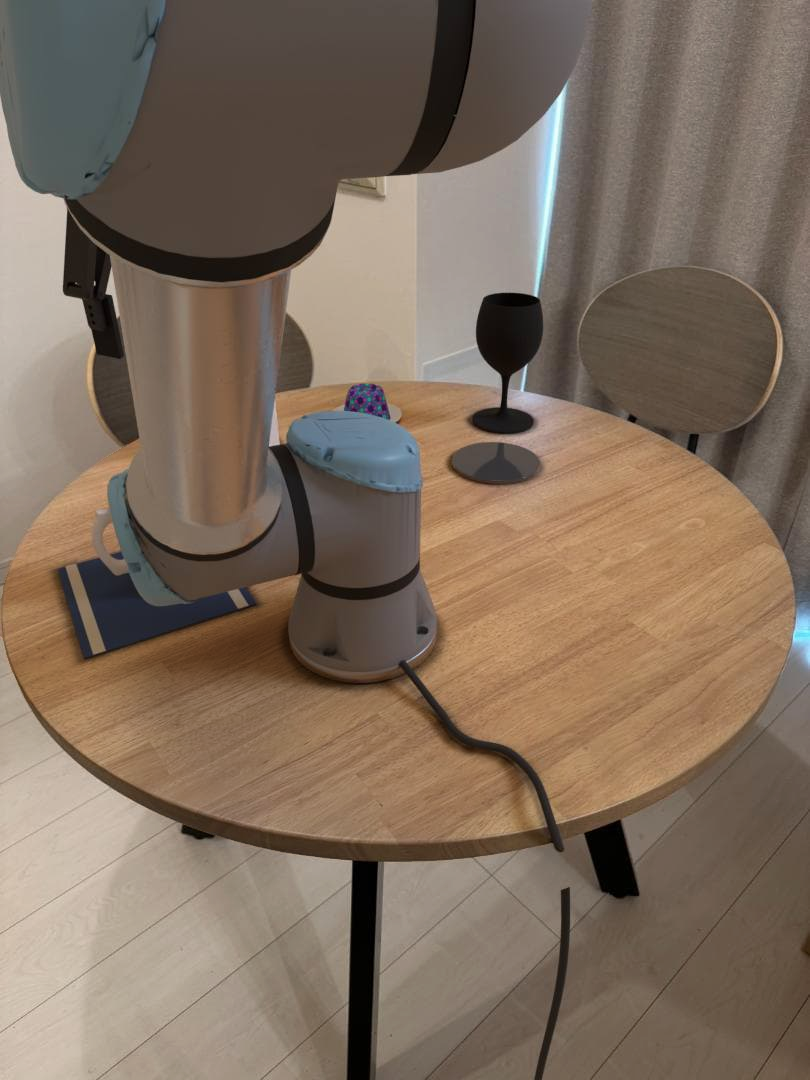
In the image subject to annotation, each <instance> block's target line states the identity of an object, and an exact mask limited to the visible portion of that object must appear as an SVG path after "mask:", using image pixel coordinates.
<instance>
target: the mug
mask: <svg viewBox="0 0 810 1080" xmlns="http://www.w3.org/2000/svg"><path fill="white" fill-rule="evenodd" d="M94 512H95V516H94V521H93V525H92V528H91V543H92V548H93V550H94V552H95V554H96V555H97V558H100V559H101V560H102V561H103V563H104V564H105V565H106V566H107V567H108V568H109V569H110V570H111V571H112V572H113V574H115V575H117V576H118V575H122V574H125V573H129V569H128V566H127V564H126V562H125V559H122V560H117V559H115V558H113V557H112V556H110V555H111V554H109V552H108V551H107V549H106V546H105V545H104V540H103V538H104V537H103V536H104V531H105V529H106V527H107V526H109V524H112V523H113V522H112V517H111V513H110V508H105V507H104V508H101V509H95V511H94Z"/></svg>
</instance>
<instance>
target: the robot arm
mask: <svg viewBox="0 0 810 1080" xmlns="http://www.w3.org/2000/svg"><path fill="white" fill-rule="evenodd" d="M592 5H593V0H0V102H1V103H0V104H1V108H2V112H3V117H4V120H5V125H6V130H7V137H8V141H9V146H10V148H11V154H12V157H13V161H14V165H15V168H16V171H17V173H18V176H19V178H20V180H21V181H22V182H23V184H24V185H25V186H26V187H27V188H29V189H30V190H32V191H33V192H35V193H37V194H40V195H49V194H50V195H52V196H54V197H55V198H59V199H60V198H61V199H63V202H64V205H65V207H66V222H65V225H66V226H65V239H64V240H65V242H64V260H63V261H64V262H63V276H62V293H63V295H64V296H65V297H70V298H75V299H81V301H82V306H83V309H84V313H85V318H86V322H87V325H88V327H89V329H90V330H91V334H92V339H93V344H94V347H95V353H96V355H98V356H103V357H108V358H111V359H112V358H113V359H117V360H122V358H124V357H126V365H127V371H128V376H129V377H128V378H129V383H130V389H131V394H132V401H133V407H134V413H135V419H136V426H137V431H138V438H139V444H140V447H139V448H138V450H137V451H136V452H135V454H134V456H133V457H132V459H131V461H130V464H129V466H128V468H127V469H125V470H124V471H122V472H120V473H116V474H114V475H112V476H111V477H110V478H109V481H108V484H107V486H106V487H107V490H106V492H107V493H106V495H107V503H108V507H109V508H108V509H109V510H110V513H111V517H112V522H111V523H112V525H113V529H114V533H115V536H116V540H117V542H118V543H117V544H118V546H119V549H120V552H122V555H123V557H124V559H125V562H126V564H127V566H128V569H129V574H130V576H131V579H132V581H133V583H134V585H135V587H136V589H137V591H138V593H139V594H140V595H141V597H142V598H143V599H144V600H145V601H146V602H147V603H149V604H151V605H154V606H168V605H174V604H181V603H182V604H189V603H193V602H195V601H196V600H197V599H199V598H203V597H207V596H211V595H215V594H220V593H224V592H228V591H232V590H236V589H240V588H244V587H246V588H247V587H253V586H256V585H261V584H264V583H269V582H273V581H276V580H280V579H281V580H282V579H285V578H289V577H292V576H298V575H300V579H299V581H298V586H297V589H296V592H295V595H294V599H293V602H292V606H291V609H290V612H289V616H288V627H287V630H288V637H289V639H288V640H289V645H290V649H291V652H292V654H293V655H294V657H295V658H296V660H297V661H298V662H299V663H300V664H301V665H302V666H303V667H305V668H306V669H307V670H309V671H311V672H313V673H314V674H316V675H318V676H321V677H323V678H326V679H329V680H332V681H336V682H343V683H352V684H366V683H367V684H368V683H377V682H382V681H388V680H390V679H391V680H392V679H394V678H396V677H400V676H402V675H404V674H406V676H407V678H409V680H410V681H411V683H413V685H414V686H415V687H416V689H417V690H418V692H419V693H420V694H421V696H423V698H424V699H425V701H426V702H427V703H428V705H429V706H430V707H431V708H432V710H433V711H434V712H435V714H436V715H437V716H438V718H439V719H440V720H441V722H442V723H443V725H444V726H445V728H446V730H447V731H448V732H449V733H450V734H451V735H452V736H453V738H455V739H456V740H458V741H459V742H461V743H462V744H464V745H465V746H468V747H471V748H474V749H479V750H483V751H490V752H494V753H498V754H501V755H504V756H506V757H508V758H509V759H510V760H512V762H514V763H515V764H516V765H517V766H518V767H519V768H520V769H521V770H522V771H523V772H524V773H525V774H526V776H527V777H528V779H529V780H530V782H531V784H532V785H533V787H534V789H535V792H536V794H537V797H538V800H539V804H540V807H541V810H542V814H543V817H544V820H545V823H546V826H547V830H548V832H549V836H550V838H551V841H552V845H553V848H554V849H555V851H557V852H558V853H564V851H565V846H564V843H563V839H562V836H561V834H560V831H559V828H558V825H557V821H556V819H555V816H554V812H553V809H552V806H551V803H550V800H549V796H548V794H547V791H546V788H545V786H544V784H543V782H542V780H541V778H540V776H539V775H538V774H537V771H536V770H535V769H534V768H533V767H532V765H531V764H530V762H528V761H527V760H526V759H525V758H524V757H523V756H521V754H519V753H518V752H517V751H515V749H512V748H511V747H509V746H507V745H504V744H501V743H498V742H493V741H492V742H491V741H486V740H480V739H476V738H473V737H471V736H469V735H467V734H465V733H464V732H462V731H461V730H460V729H458V727H457V726H456V725H455V724H454V722H453V721H452V719H451V718H450V717H449V715H448V714H447V712H446V711H445V710H444V708H443V707H442V706H441V704H440V703H439V702H438V701H437V699H436V698H435V697H434V696H433V694H432V693H431V692H430V689H428V688H427V686H426V685H425V684H424V682H423V681H422V680H421V678H420V677H419V676H418V675H417V674H416V672H415V671H414V670H413V669H415V668H416V667H418V666H420V664H422V663H423V662H424V661H425V660H426V659H427V658H428V657H429V656H430V654H431V653H432V651H433V649H434V647H435V645H436V641H437V637H438V635H437V634H438V618H437V612H436V608H435V605H434V603H433V600H432V597H431V594H430V591H429V589H428V587H427V584H426V581H425V578H424V576H423V574H422V571H421V530H422V529H421V528H422V525H421V524H422V523H421V522H422V521H421V520H422V519H421V518H422V488H423V486H424V478H423V476H422V468H421V451H420V447H419V445H418V442H417V440H416V438H415V437H414V436H413V435H412V433H410V432H409V431H408V429H406V428H404V427H403V426H402V425H400V424H398V423H397V422H395V423H394V422H392V421H390V420H387V419H384V418H381V417H378V416H374V415H370V414H365V413H359V412H351V411H333V410H325V411H323V410H322V411H317V412H316V411H315V412H311V413H308V414H304V415H302V416H301V417H300V418H296V419H294V420H293V421H292V422H291V423H290V425H289V426H288V430H287V432H286V434H285V436H286V437H285V440H286V443H280V445H275V446H269V440H270V433H271V425H272V417H273V409H274V401H275V402H276V393H277V386H278V384H277V383H278V378H279V377H278V376H279V369H280V362H281V354H282V345H283V338H284V329H285V323H286V322H285V321H286V315H287V307H288V298H289V290H290V282H291V275H292V270H293V269H296V268H297V267H298V266H301V264H303V263H304V262H305V261H306V260H308V259H309V258H310V257H312V255H313V254H314V253H315V251H317V250H318V249H319V247H320V246H321V244H322V242H323V240H324V239H325V237H326V235H327V233H328V230H329V228H330V226H331V223H332V219H333V214H334V209H335V203H336V198H337V192H338V187H339V183H340V182H341V181H342V180H352V179H353V180H354V179H371V178H382V177H383V178H384V177H395V176H396V177H398V176H399V177H400V176H411V175H423V174H424V175H425V174H437V173H439V174H440V173H444V172H446V171H451V170H455V169H459V168H462V167H466V166H468V165H472V164H475V163H478V162H480V161H484V160H485V159H487V158H489V157H492V156H493V155H495V154H496V153H499V152H501V151H502V150H504V149H506V148H507V147H509V146H510V145H512V144H513V143H515V142H517V141H518V140H519V139H520V138H521V137H523V136H524V135H525V134H526V133H527V132H528V131H529V130H531V128H533V127H534V126H535V125H536V124H537V123H538V122H539V121H540V120H541V119H542V118H543V117H544V116H545V115H546V114H547V112H548V111H549V110H550V108H551V107H552V106H553V104H554V103H555V101H556V100H557V99H558V98H559V96H560V95H561V94H562V92H563V90H564V88H565V87H566V84H567V83H568V81H569V79H570V77H571V75H572V73H573V71H574V69H575V68H576V66H577V64H578V60H579V57H580V55H581V51H582V49H583V46H584V43H585V40H586V37H587V33H588V29H589V28H588V27H589V22H590V17H591V11H592ZM111 271H112V272H111ZM111 273H112V277H113V285H114V289H115V290H114V291H115V296H116V303H117V308H118V315H119V320H120V326H121V332H122V333H120V328H119V322H118V318H117V312H116V308H115V307H116V306H115V302H114V297H113V295H112V294H108V293H107V288H108V286H109V285H108V284H109V280H110V275H111ZM121 334H122V338H121ZM122 339H123V342H122ZM123 345H124V347H123ZM124 352H125V353H124ZM570 936H571V886H568V887H565V888H563V889H560V940H559V941H560V942H559V952H558V965H557V972H556V979H555V983H554V984H555V985H554V990H553V996H552V1000H551V1006H550V1010H549V1014H548V1017H547V1023H546V1027H545V1031H544V1035H543V1040H542V1043H541V1047H540V1052H539V1055H538V1058H537V1059H538V1060H537V1064H536V1069H535V1074H534V1078H533V1080H543V1077H544V1072H545V1068H546V1065H547V1060H548V1056H549V1052H550V1048H551V1044H552V1040H553V1036H554V1033H555V1030H556V1029H555V1028H556V1026H557V1021H558V1018H559V1017H558V1016H559V1014H560V1013H559V1012H560V1008H561V1005H562V1000H563V995H564V989H565V984H566V977H567V971H568V962H569V953H570Z"/></svg>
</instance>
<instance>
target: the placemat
mask: <svg viewBox="0 0 810 1080" xmlns="http://www.w3.org/2000/svg"><path fill="white" fill-rule="evenodd" d="M109 555H110V556H112V557H113V558H115V559H117V560H122V559H124V557H123V555H122V552H121V551H119V552H115V553H110V554H109ZM56 570H57V573H58V576H59V580H60V582H61V586H62V590H63V592H64V593H63V594H64V595H65V601H66V603H67V606H68V609H69V613H70V616H71V619H72V623H73V626H74V629H75V633H76V636H77V639H78V643H79V646H80V650H81V652H82V656H83V659H84V660H87V659H90V658H92V657H96V656H99V655H103V654H105V653H110V652H112V651H115V650H118V649H122V648H125V647H128V646H131V645H135V644H137V643H140V642H144V641H147V640H149V639H153V638H156V637H160V636H163V635H165V634H169V633H173V632H174V631H178V630H181V629H184V628H187V627H190V626H194V625H197V624H200V623H203V622H206V621H209V620H212V619H216V618H219V617H222V616H225V615H228V614H231V613H234V612H238V611H241V610H245V609H247V608H251V607H253V606H257V604H258V603H257V602H256V600H255V598H254V597H253V595H252V594H251V592H250V590H249V589H248V588H247V587H244V588H240V589H236V590H232V591H228V592H224V593H220V594H215V595H211V596H207V597H203V598H199V599H197V600H196V601H195V602H193V603H189V604H182V603H181V604H174V605H168V606H154V605H151V604H149V603H147V602H146V601H145V600H144V599H143V598H142V597H141V595H140V594H139V593H138V591H137V589H136V587H135V585H134V583H133V581H132V579H131V576H130V574H129V573H125V574H122V575H118V576H117V575H115V574H113V572H112V571H111V570H110V569H109V568H108V567H107V566H106V565H105V564H104V563H103V561H102V560H101V559H100V558H99V557H96V558H93V559H89V560H84V561H81V562H77V563H73V564H68V565H65V566H62V567H58V568H57V569H56Z"/></svg>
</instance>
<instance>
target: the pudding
mask: <svg viewBox="0 0 810 1080" xmlns="http://www.w3.org/2000/svg"><path fill="white" fill-rule="evenodd" d="M332 411H351V412H359V413H365V414H370V415H374V416H378V417H381V418H384V419H387V420H390V421H392V422H394V423H397V422H398V421H400V420H401V418H402V416H403V412H402V410H401V409H400V408H399V407H398V406H397V405H394V404H392V403H389V402H387V399H386V394H385V391H384V389H383V387H382V386H380V385H376V384H375V383H359V384H354V385H352V386H350V388H349V389H348V390H347V392H346V397H345V402H344V403H343V404H341V405H339V406H337V407H335V408H334V409H333V410H332Z"/></svg>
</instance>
